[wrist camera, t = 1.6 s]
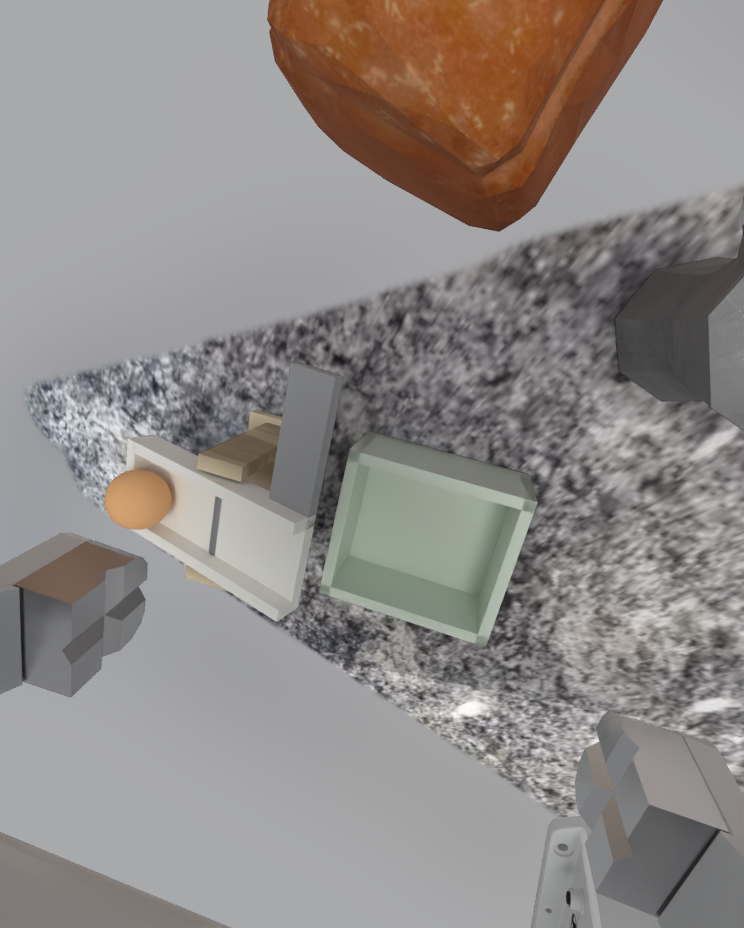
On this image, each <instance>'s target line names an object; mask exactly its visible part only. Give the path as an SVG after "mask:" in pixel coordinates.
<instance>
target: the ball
mask: <svg viewBox="0 0 744 928" xmlns="http://www.w3.org/2000/svg"><path fill="white" fill-rule="evenodd" d="M170 505H171V492H170V488H169V486H168V484H167V483H166V482H165V480H164V479H163V478H162V477H160V476H159V475H158V474H156V473H154V472H151V471H148V470H143V469H135V470H130V471H126V472H124V473H122V474H120V475H119V476H117V477H116V478H115V479H114V480H113V481H112V482H111V483H110V485H109V486H108V488H107V490H106V493H105V508H106V511H107V513H108V515H109V516H110V518H111V519H112V520H113V521H114V522H116V523H117V524H118V525H120V526H122V527H124V528H128V529H133V530H141V529H146V528H150V527H152V526H154V525H156V524H157V523H159V522H160V521H161V520H162V519H163V518H164V517H165V516H166V514H167V513H168V511H169V509H170Z"/></svg>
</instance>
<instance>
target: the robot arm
mask: <svg viewBox="0 0 744 928" xmlns="http://www.w3.org/2000/svg"><path fill="white" fill-rule="evenodd" d="M147 566H148V563H147V562H146V561H145V560H144V559H143V558H142V557H140V556H137V555H134V554H131V553H128V552H126V551H123V550H120V549H117V548H114V547H112V546H109V545H106V544H103V543H100V542H97V541H93V540H90V539H87V538H85V537H82V536H79V535H76V534H73V533H60V534H58V535H56V536H55V537H53V538H51V539H49V540H47V541H45V542H43V543H41V544H40V545H38V546H36V547H34V548H32V549H30V550H28V551H27V552H25V553H23V554H21V555H19V556H17V557H15V558H13V559H12V560H10V561H8V562H6V563H4V564H3V565H0V694H2V693H4V692H6V691H8V690H11V689H13V688H16V687H18V686H20V685H22V681H23V682H26V683H29V684H32V685H35V686H38V687H41V688H44V689H47V690H50V691H53V692H56V693H59V694H62V695H65V696H68V697H72V696H73V695H74V694H75V693H76V692H77V691H78V690H79V689H80V688H81V687H82V686H83V685H85V684H86V682H88V681H89V680H90V679H91V678H92V677H93V676H94V675H95V674H96V673H97V672H98V671H99V670H100V669H101V665H102V657H103V656H106V655H109V654H112V653H114V652H117V651H120V650H121V649H122V648H123V647H124V646H125V645H126V644H127V643H128V642H129V641H130V640H131V639H132V637H133V635H134V634H135V632H136V630H137V629H138V627H139V625H140V624H141V621H142V617H143V614H144V611H145V598H144V596H143V594H142V592H141V590H140V588H139V586H140V585H141V584H142V583H143V582H144V581H145V580H146V579H147ZM596 730H597V734H598V738H599V741H600V742H598V743H596V744H594V745H592V746H589V747H587V748H585V750H584V753H583V755H582V757H581V759H580V761H579V764H578V769H577V775H576V781H575V787H576V801H577V806H578V811H579V814H580V815H581V816H574V817H562V818H557V819H554V820H553V821H551V822H550V824H549V826H548V831H547V837H546V842H545V849H544V854H543V859H542V865H541V871H540V877H539V883H538V888H537V894H536V900H535V906H534V911H533V917H532V923H531V928H744V795H743V793H742V792H741V790H740V788H739V786H738V784H737V783H736V781H735V779H734V777H733V775H732V774H731V772H730V770H729V768H728V766H727V764H726V763H725V761H724V759H723V757H722V755H721V754H720V752H719V750H718V749H717V748H716V747H715V746H714V745H713V744H712V743H711V742H710V741H707V740H704V739H700V738H697V737H694V736H690V735H687V734H684V733H681V732H677V731H671V730H668V729H665V728H661V727H658V726H655V725H652V724H649V723H646V722H643V721H640V720H637V719H633V718H630V717H627V716H624V715H621V714H618V713H615V712H612V711H608V712H607V713H606V714H605V715H603V716H602V718H601V720H600V721H599V723H598V725H597V727H596ZM0 928H231V927H228V926H226V925H224V924H221V923H218V922H216V921H214V920H211V919H209V918H207V917H204V916H202V915H199V914H197V913H194V912H192V911H190V910H187V909H185V908H182V907H180V906H177V905H175V904H172V903H170V902H168V901H165V900H163V899H161V898H158V897H156V896H153V895H151V894H149V893H146V892H144V891H141V890H139V889H136V888H134V887H132V886H129V885H127V884H124V883H122V882H120V881H117V880H115V879H112V878H110V877H107V876H105V875H103V874H100V873H98V872H95V871H93V870H90V869H88V868H86V867H83V866H81V865H78V864H76V863H74V862H71V861H69V860H66V859H64V858H62V857H59V856H57V855H54V854H52V853H50V852H47V851H45V850H42V849H40V848H38V847H35V846H33V845H30V844H28V843H26V842H23V841H21V840H18V839H16V838H13V837H11V836H8V835H6V834H4V833H1V832H0Z"/></svg>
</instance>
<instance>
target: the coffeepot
mask: <svg viewBox="0 0 744 928" xmlns="http://www.w3.org/2000/svg"><path fill="white" fill-rule="evenodd" d="M740 212H741V220H742V228H743V236H742V241H741V245H740V249H739V253H738V257H737V258H735V259H729V258H722V257H715V258H710V259H706V260H701V261H696V262H691V263H687V264H682V265H677V266H672V267H668V268H663V269H658V270H654V272H653V273H652V274H651V275H650V276H649V278H648V279H647V280H646V281H645V283H644V284H643V285H642V286H641V287H640V288H639V289H638V290H637V291H636V293H635V294H634V295H633V296H632V298H631V299H630V301H629V302H628V303H627V304H626V306H625V307H624V308H623V309H622V311H621V312H620V313H619V314H618V315H617V317H616V318H615V324H616V347H617V353H618V364H619V372H620V373H622V374H623V375H625V376H626V377H628V378H629V379H630V380H632V381H633V382H635V383H636V384H637V385H639V386H640V387H642V388H643V389H645V390H646V391H647V392H649V393H650V394H652V395H653V396H655V397H656V398H657V399H659V400H660V401H662V402H666V401H704V402H706V403H707V404H708V405H709V407H710V408H712V409H713V410H715V411H716V412H717V413H719V414H720V415H722V416H723V417H725V418H726V419H727V420H729V421H730V422H732V423H733V424H735V425H736V426H737V427H739V428H740V429H742V430H743V431H744V197H743V203H742V207H741V211H740Z"/></svg>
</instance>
